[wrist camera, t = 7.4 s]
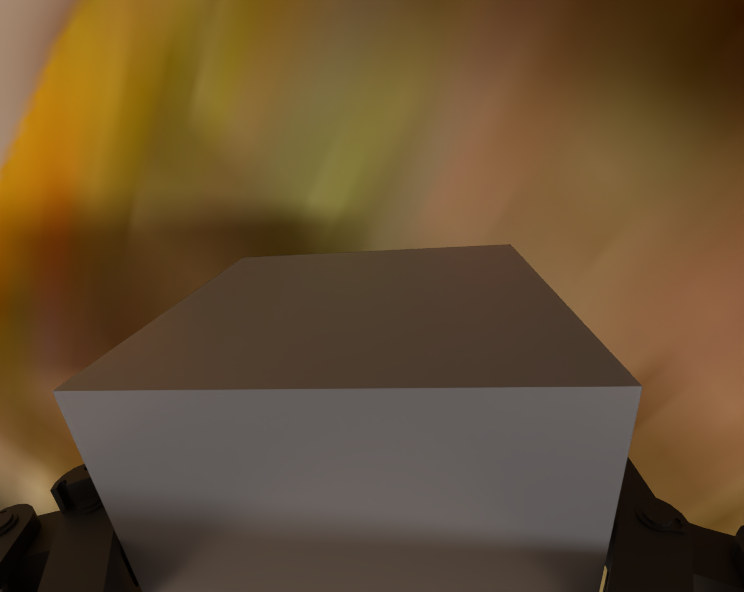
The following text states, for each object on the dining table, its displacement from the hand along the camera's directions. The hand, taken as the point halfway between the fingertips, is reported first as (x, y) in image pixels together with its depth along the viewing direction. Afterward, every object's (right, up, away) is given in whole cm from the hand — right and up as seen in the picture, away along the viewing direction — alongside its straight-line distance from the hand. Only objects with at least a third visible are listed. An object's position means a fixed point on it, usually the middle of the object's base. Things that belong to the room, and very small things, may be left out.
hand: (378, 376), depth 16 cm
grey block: (0, 0, +1) cm, 1 cm away
